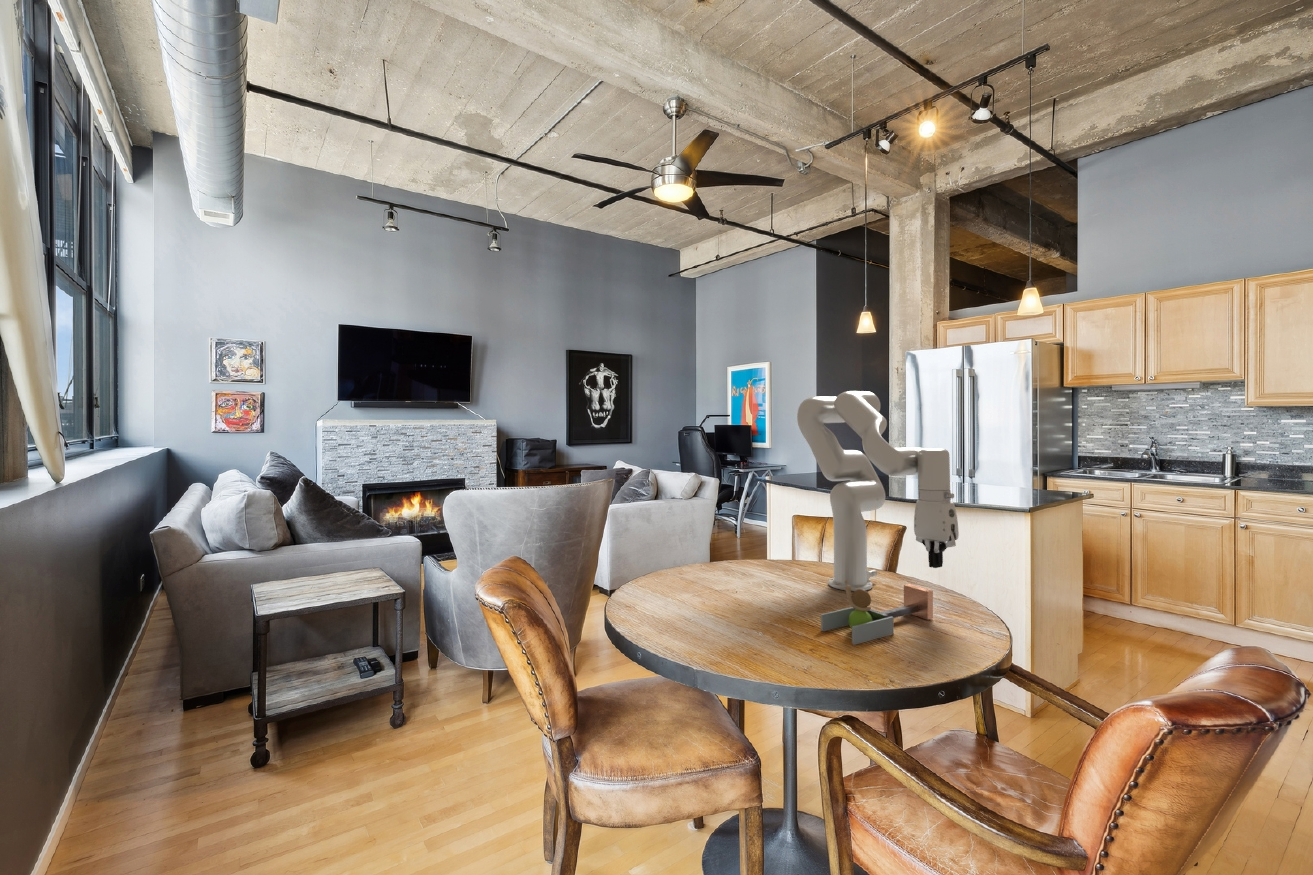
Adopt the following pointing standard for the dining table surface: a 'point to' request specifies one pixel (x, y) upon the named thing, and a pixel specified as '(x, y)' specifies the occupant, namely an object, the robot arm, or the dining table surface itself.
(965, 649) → the dining table surface
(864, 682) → the dining table surface
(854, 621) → the snail figurine
